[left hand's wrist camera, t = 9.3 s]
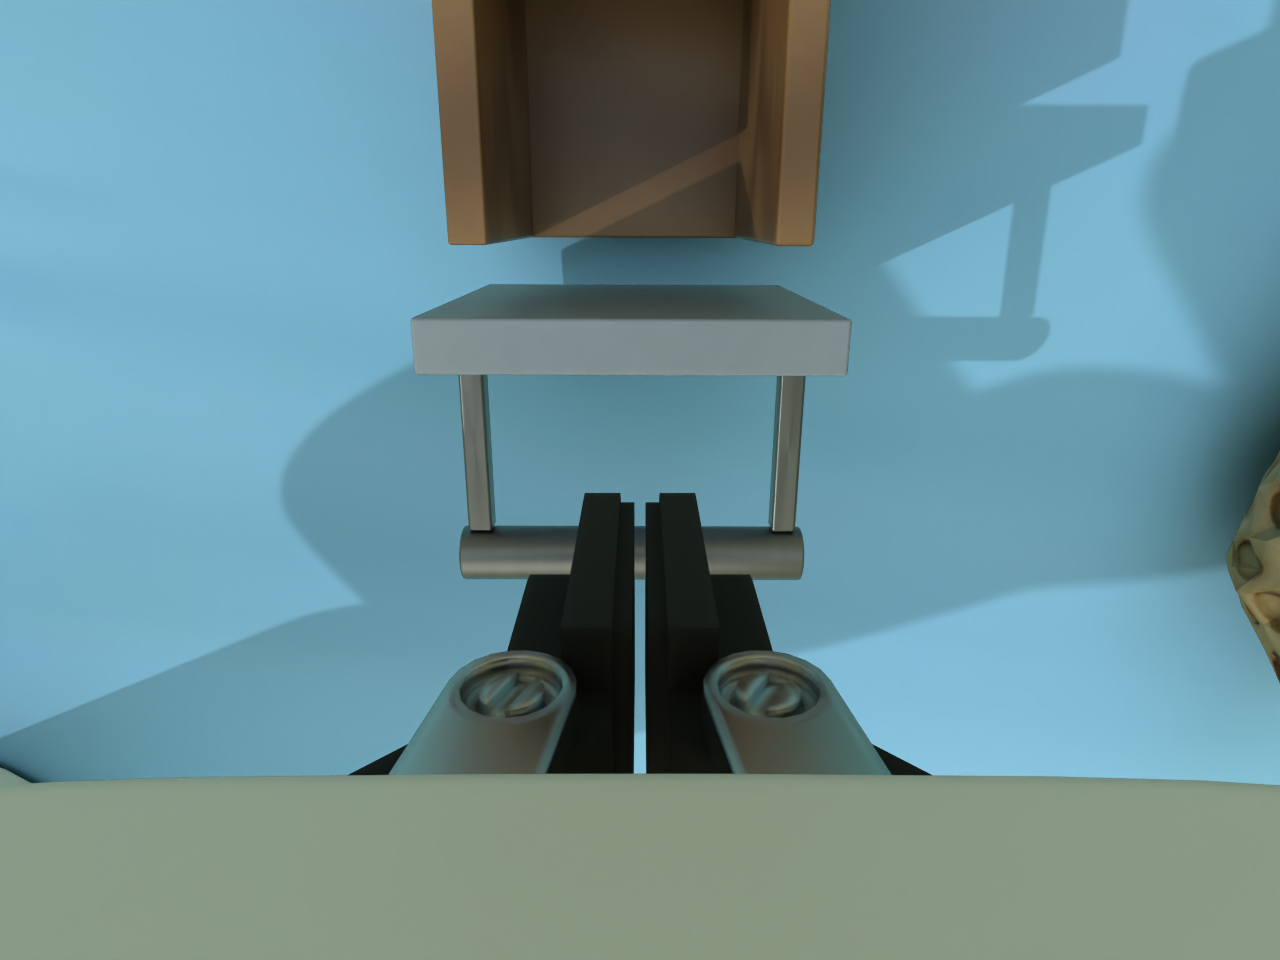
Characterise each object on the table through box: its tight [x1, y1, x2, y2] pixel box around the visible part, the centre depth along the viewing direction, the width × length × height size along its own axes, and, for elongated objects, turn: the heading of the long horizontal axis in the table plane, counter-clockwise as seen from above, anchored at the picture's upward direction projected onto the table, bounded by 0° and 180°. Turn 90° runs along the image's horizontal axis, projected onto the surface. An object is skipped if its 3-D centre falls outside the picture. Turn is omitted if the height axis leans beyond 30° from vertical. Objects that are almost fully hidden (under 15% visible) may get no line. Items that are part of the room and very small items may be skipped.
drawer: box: [411, 0, 852, 580], centre depth 19 cm, size 24×9×9 cm, turn 0°
